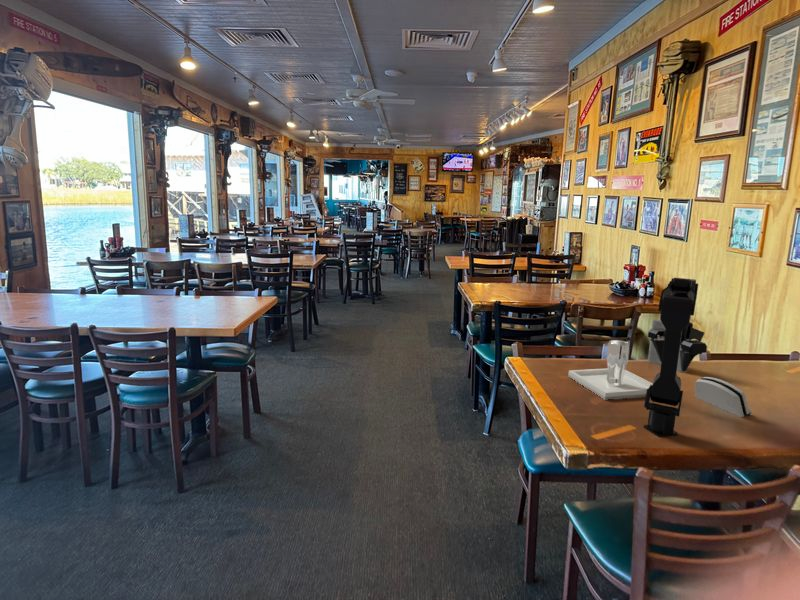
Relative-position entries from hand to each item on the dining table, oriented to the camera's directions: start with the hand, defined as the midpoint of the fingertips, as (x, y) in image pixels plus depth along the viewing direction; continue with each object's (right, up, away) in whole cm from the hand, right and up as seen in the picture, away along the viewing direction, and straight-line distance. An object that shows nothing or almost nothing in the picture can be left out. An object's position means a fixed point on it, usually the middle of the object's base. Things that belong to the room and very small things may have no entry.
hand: (672, 366), depth 161 cm
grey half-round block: (+16, -14, +3) cm, 21 cm away
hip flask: (+20, -6, +42) cm, 47 cm away
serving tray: (-11, -9, +18) cm, 23 cm away
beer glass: (-11, -9, +18) cm, 23 cm away
